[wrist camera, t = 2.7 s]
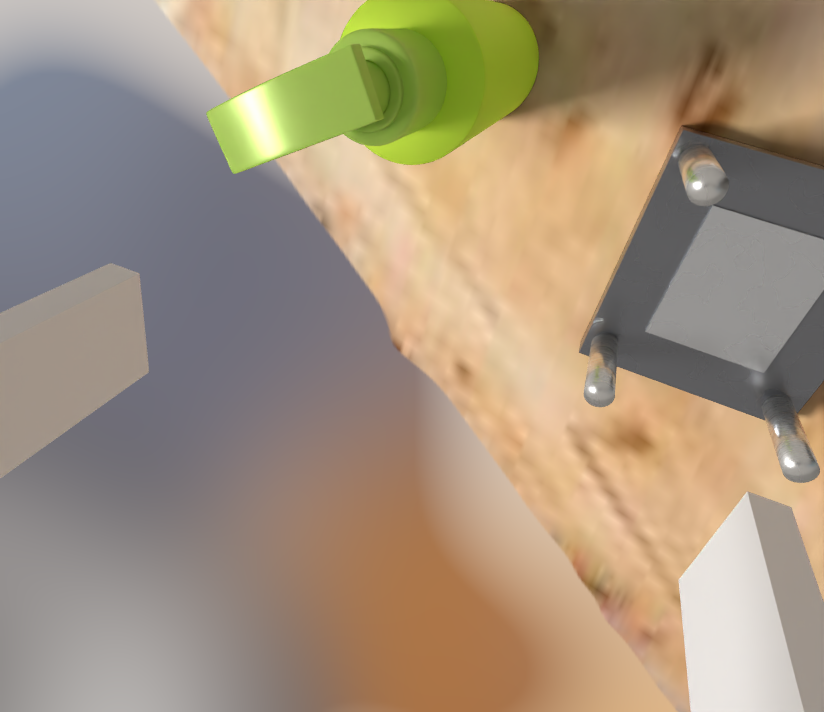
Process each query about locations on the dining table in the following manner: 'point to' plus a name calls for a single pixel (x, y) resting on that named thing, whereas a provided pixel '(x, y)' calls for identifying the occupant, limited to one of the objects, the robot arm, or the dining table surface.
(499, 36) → the soap dispenser
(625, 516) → the dining table surface
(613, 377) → the display stand
